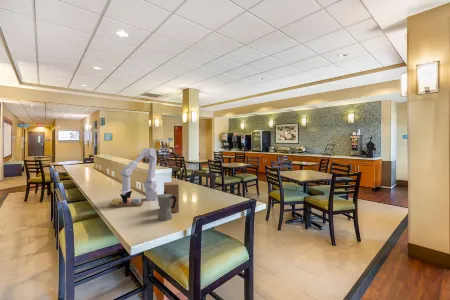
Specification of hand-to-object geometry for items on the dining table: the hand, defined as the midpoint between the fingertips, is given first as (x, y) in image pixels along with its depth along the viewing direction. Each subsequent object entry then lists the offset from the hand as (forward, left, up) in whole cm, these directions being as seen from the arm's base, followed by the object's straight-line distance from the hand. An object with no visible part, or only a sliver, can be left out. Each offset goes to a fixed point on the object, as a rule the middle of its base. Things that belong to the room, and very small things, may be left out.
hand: (126, 201), depth 172 cm
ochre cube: (+7, 0, -3) cm, 8 cm away
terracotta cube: (0, 0, -3) cm, 3 cm away
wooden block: (-35, +15, -4) cm, 38 cm away
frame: (0, 0, -3) cm, 3 cm away
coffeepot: (-33, +31, -4) cm, 46 cm away
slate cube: (-7, 0, -3) cm, 8 cm away
